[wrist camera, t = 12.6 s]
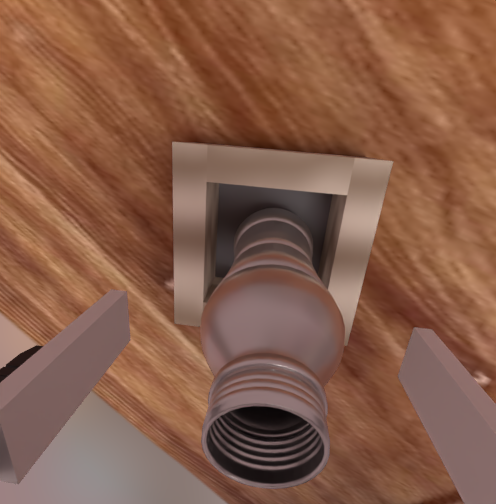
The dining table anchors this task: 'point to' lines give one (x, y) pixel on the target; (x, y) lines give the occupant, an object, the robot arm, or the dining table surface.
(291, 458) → the plastic bottle
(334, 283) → the bottle holder
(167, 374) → the dining table surface
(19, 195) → the dining table surface
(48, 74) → the dining table surface
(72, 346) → the robot arm
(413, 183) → the dining table surface
